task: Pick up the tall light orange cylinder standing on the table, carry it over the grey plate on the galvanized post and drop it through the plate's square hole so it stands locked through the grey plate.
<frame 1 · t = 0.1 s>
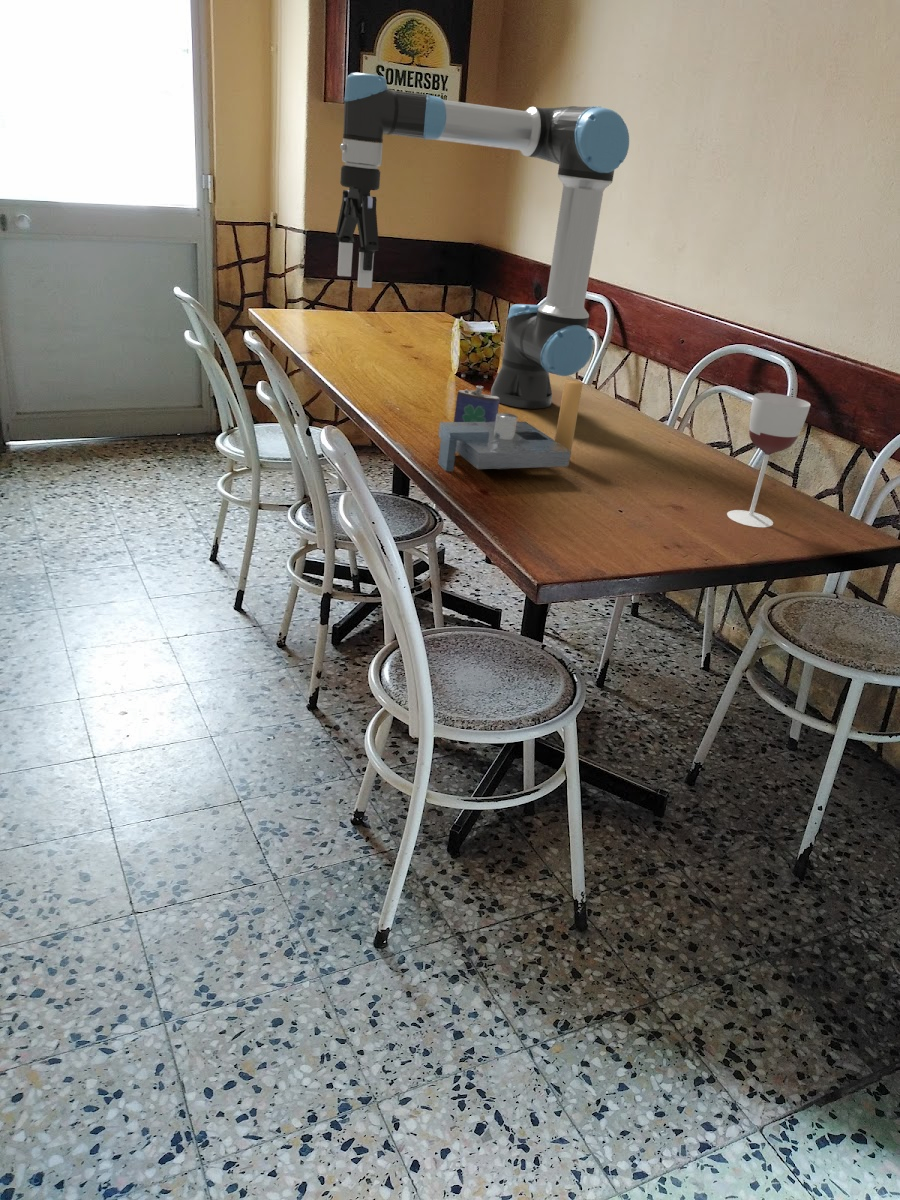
hand: (354, 281, 186), 28 cm above the table, fingers open, 13 cm apart
grey plate: (499, 466, 180), on the table
flask: (473, 436, 197), on the table
light orange cylinder: (560, 460, 188), on the table
wineglass: (749, 519, 169), on the table
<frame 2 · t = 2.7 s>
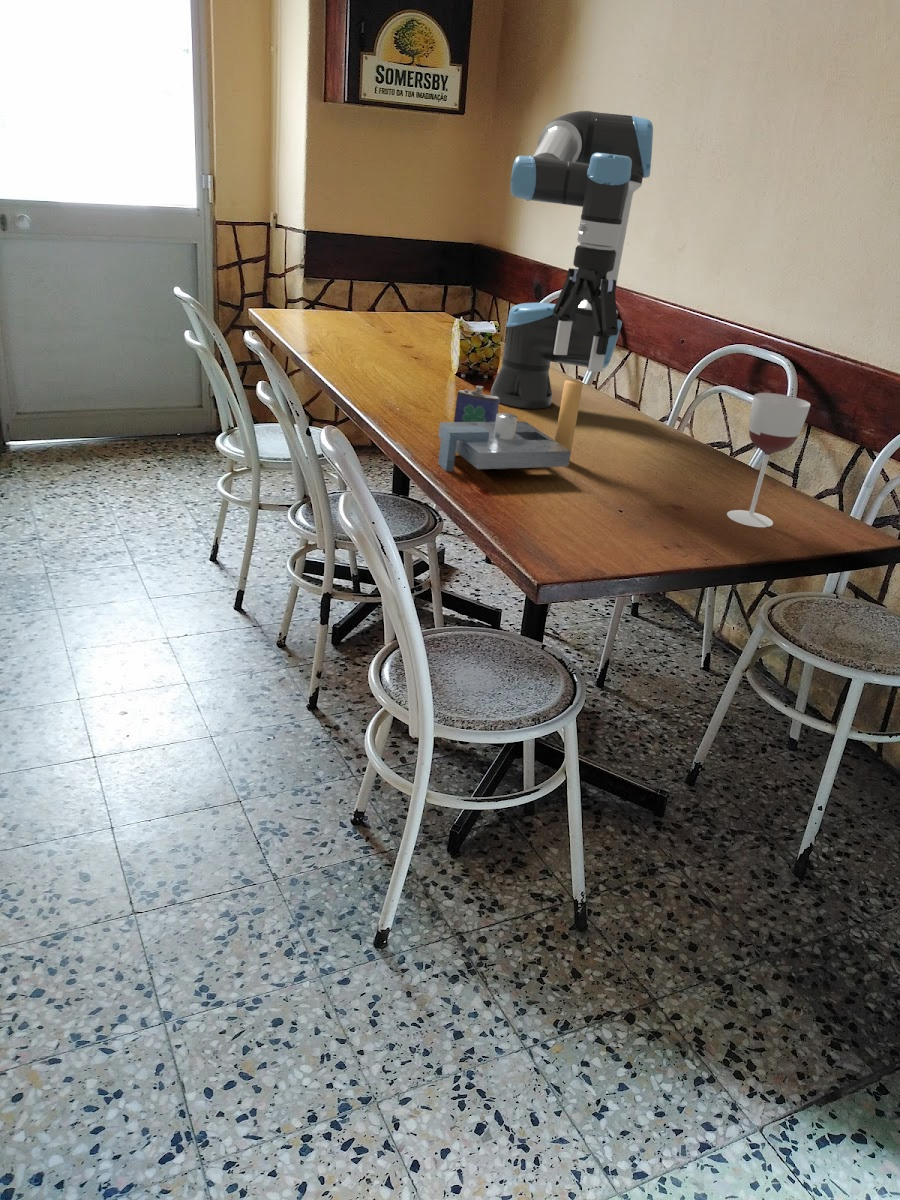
hand: (576, 362, 179), 20 cm above the table, fingers open, 13 cm apart
nothing on the table moved.
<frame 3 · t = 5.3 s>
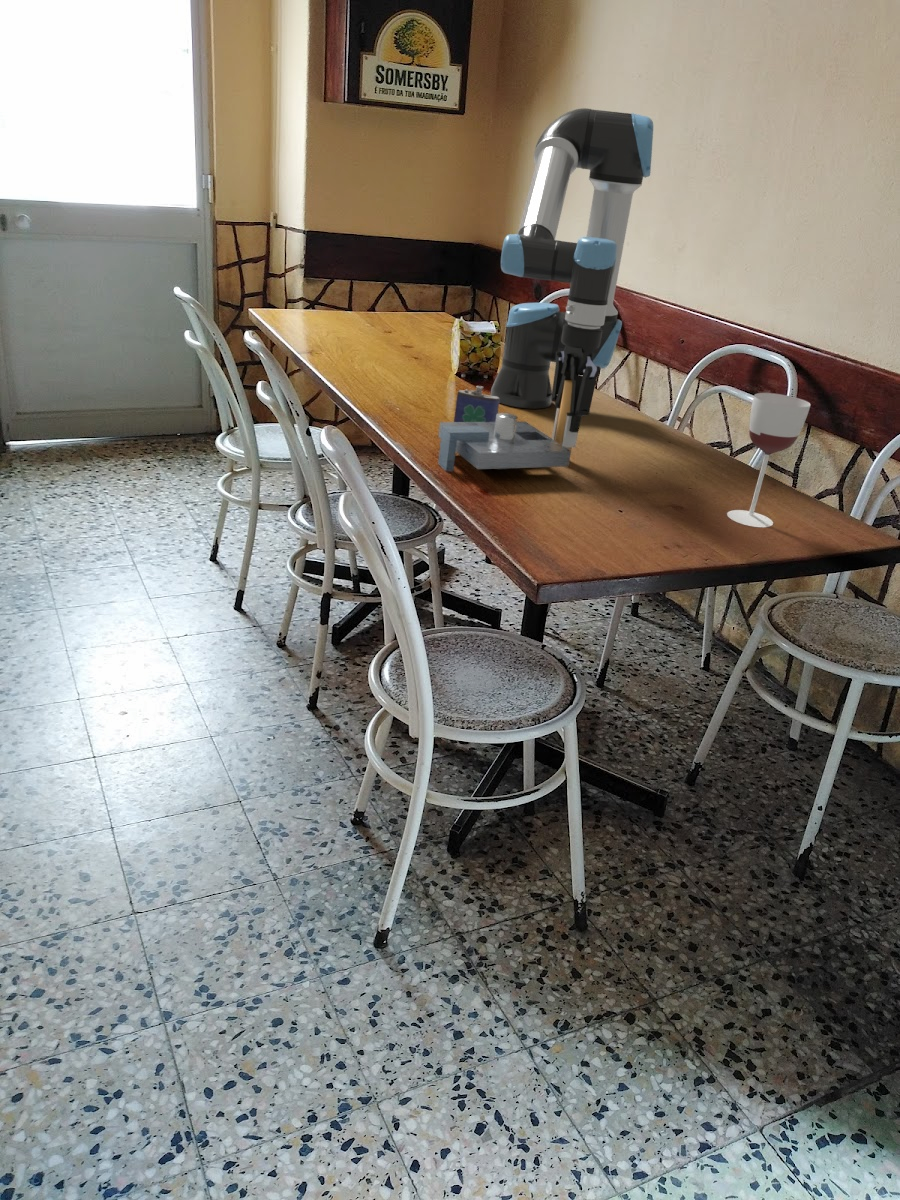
hand: (563, 443, 187), 4 cm above the table, fingers closed on light orange cylinder, 4 cm apart
light orange cylinder: (560, 460, 188), on the table, touching gripper
everything else where it was.
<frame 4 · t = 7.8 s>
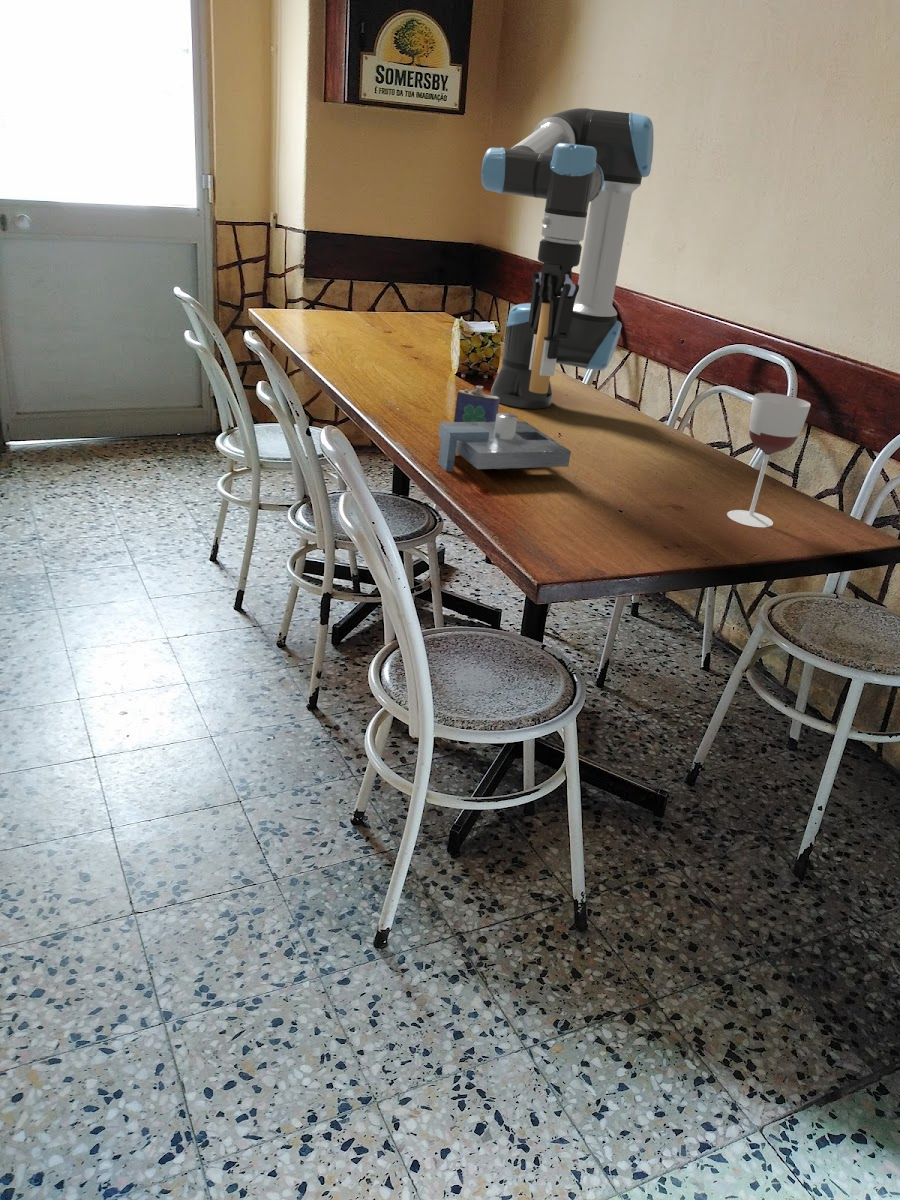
hand: (541, 372, 174), 18 cm above the table, fingers closed on light orange cylinder, 4 cm apart
light orange cylinder: (538, 391, 176), point 15 cm above the table, touching gripper
everything else where it was.
when the fingers open (8 cm above the table, at t = 10.5 s): light orange cylinder drops 3 cm, on the table.
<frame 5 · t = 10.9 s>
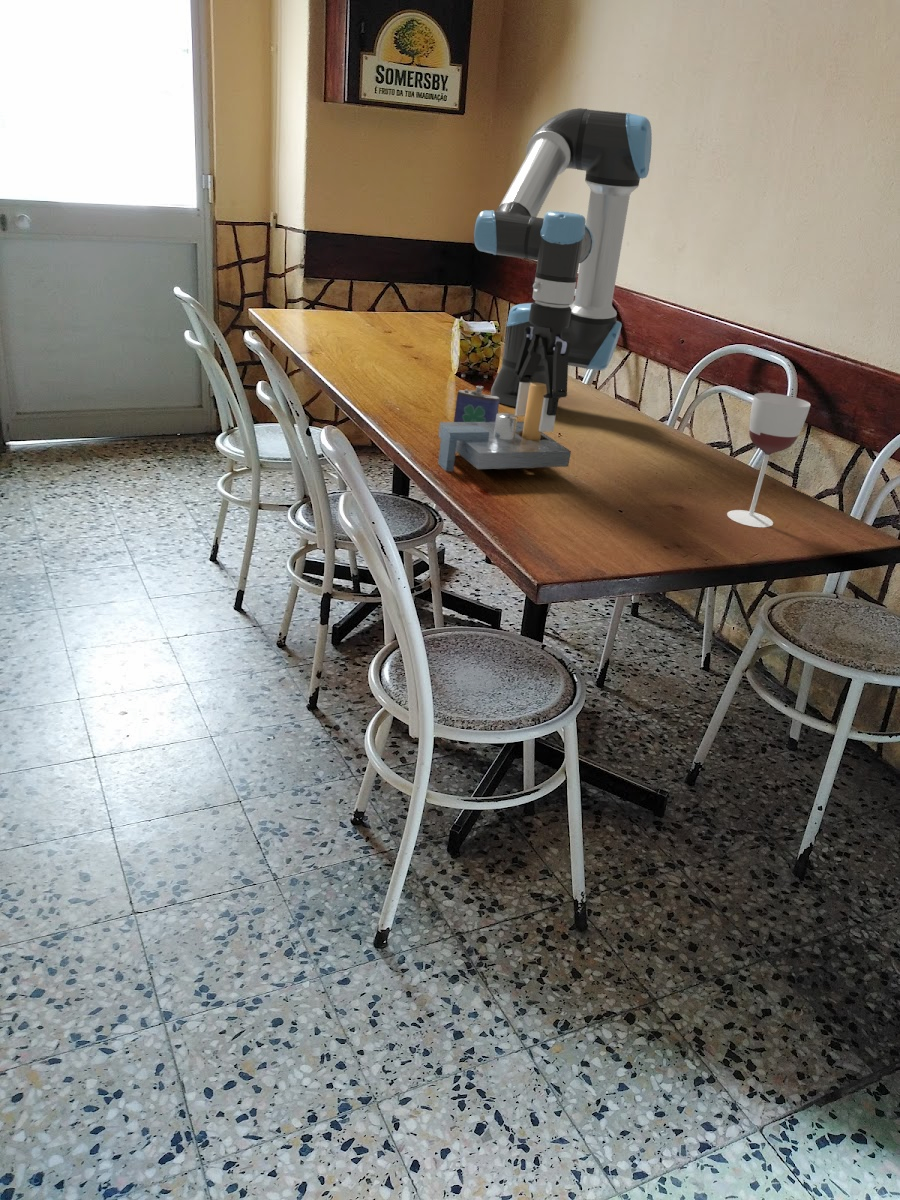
hand: (533, 422, 179), 9 cm above the table, fingers open, 9 cm apart
light orange cylinder: (526, 465, 183), on the table
everything else where it was.
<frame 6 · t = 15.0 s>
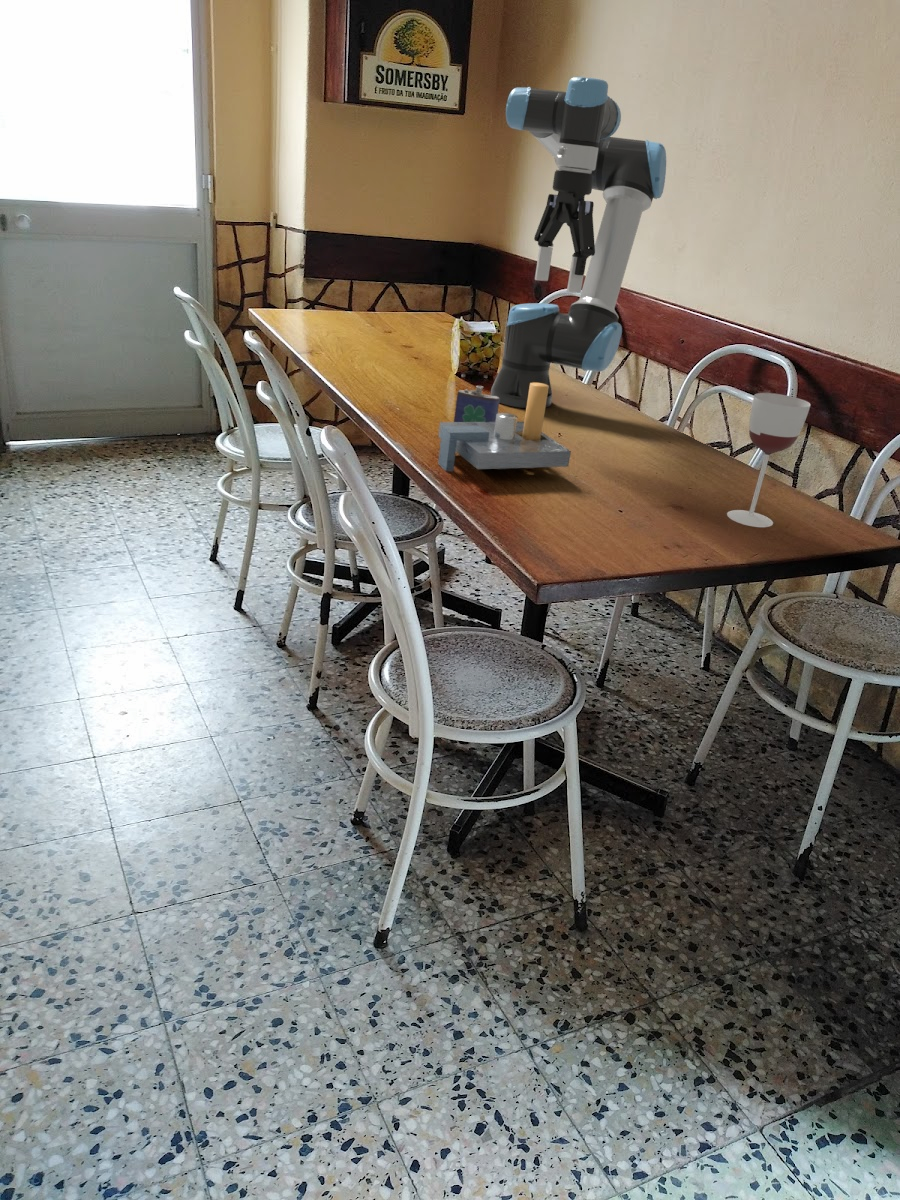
hand: (556, 286, 186), 32 cm above the table, fingers open, 13 cm apart
nothing on the table moved.
at the end: light orange cylinder 0.0 cm from the target spot on the grey plate, point 0.0 cm above the grey plate's base; light orange cylinder tilted 0°; the gripper is holding nothing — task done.
